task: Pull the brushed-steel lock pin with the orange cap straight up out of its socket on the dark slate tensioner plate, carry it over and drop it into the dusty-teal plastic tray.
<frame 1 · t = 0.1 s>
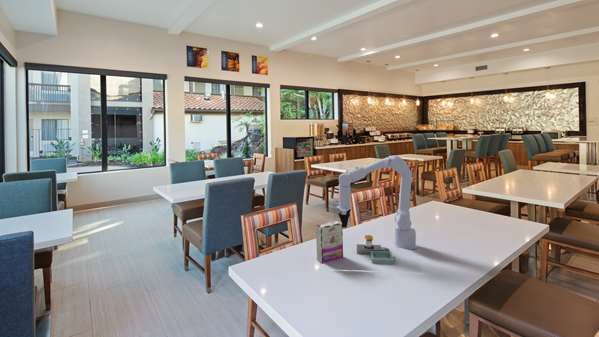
hand: (345, 225, 159), 10 cm above the table, fingers open, 7 cm apart
lock pin: (368, 251, 150), point 1 cm above the table, touching tensioner plate
tensioner plate: (373, 252, 149), on the table
tray: (381, 260, 141), on the table
candy bar box: (329, 259, 143), on the table
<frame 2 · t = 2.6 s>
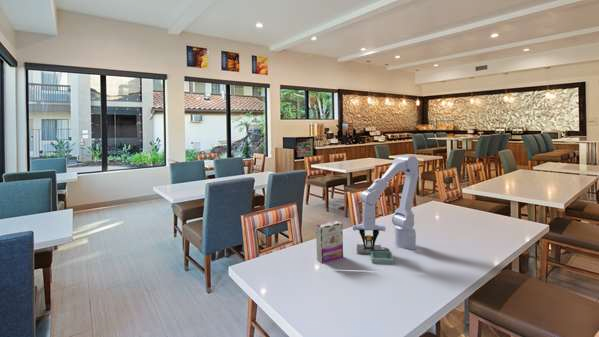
hand: (368, 245, 149), 3 cm above the table, fingers closed on lock pin, 3 cm apart
lock pin: (368, 251, 150), point 1 cm above the table, touching gripper, tensioner plate
everything else where it was.
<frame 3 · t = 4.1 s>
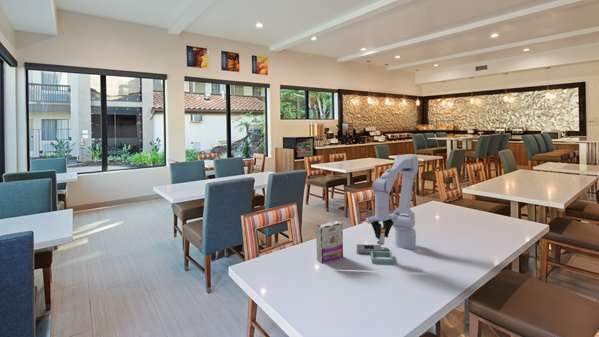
hand: (381, 237, 139), 10 cm above the table, fingers closed on lock pin, 3 cm apart
lock pin: (380, 243, 140), point 8 cm above the table, touching gripper
everything else where it was.
when the fingers open (4 cm above the table, at t = 6.0 s): lock pin drops 1 cm, resting on tray.
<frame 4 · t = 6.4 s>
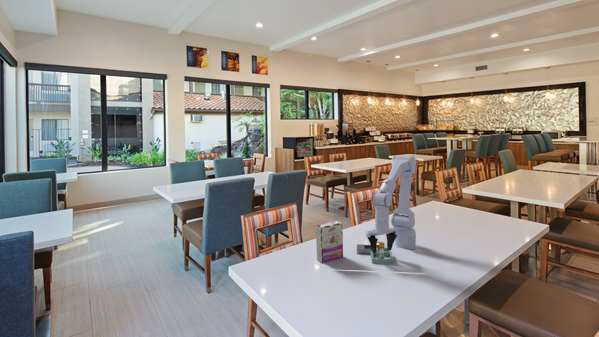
hand: (381, 250, 140), 4 cm above the table, fingers open, 7 cm apart
lock pin: (380, 258, 141), resting on tray
everything else where it was.
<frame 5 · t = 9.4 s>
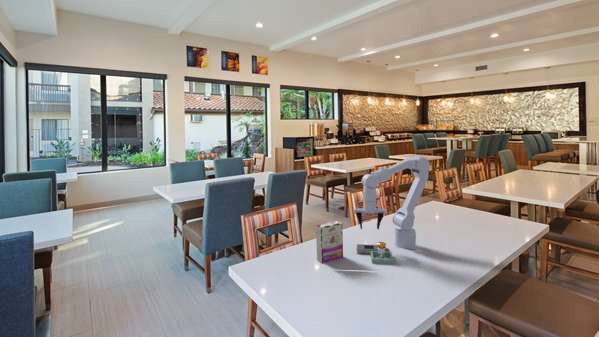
hand: (369, 228, 152), 10 cm above the table, fingers open, 7 cm apart
nothing on the table moved.
at the end: lock pin inside the target area on the tray (0.5 cm from its centre), point 0.5 cm above the tray's base; the gripper is holding nothing; lock pin touching tray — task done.
